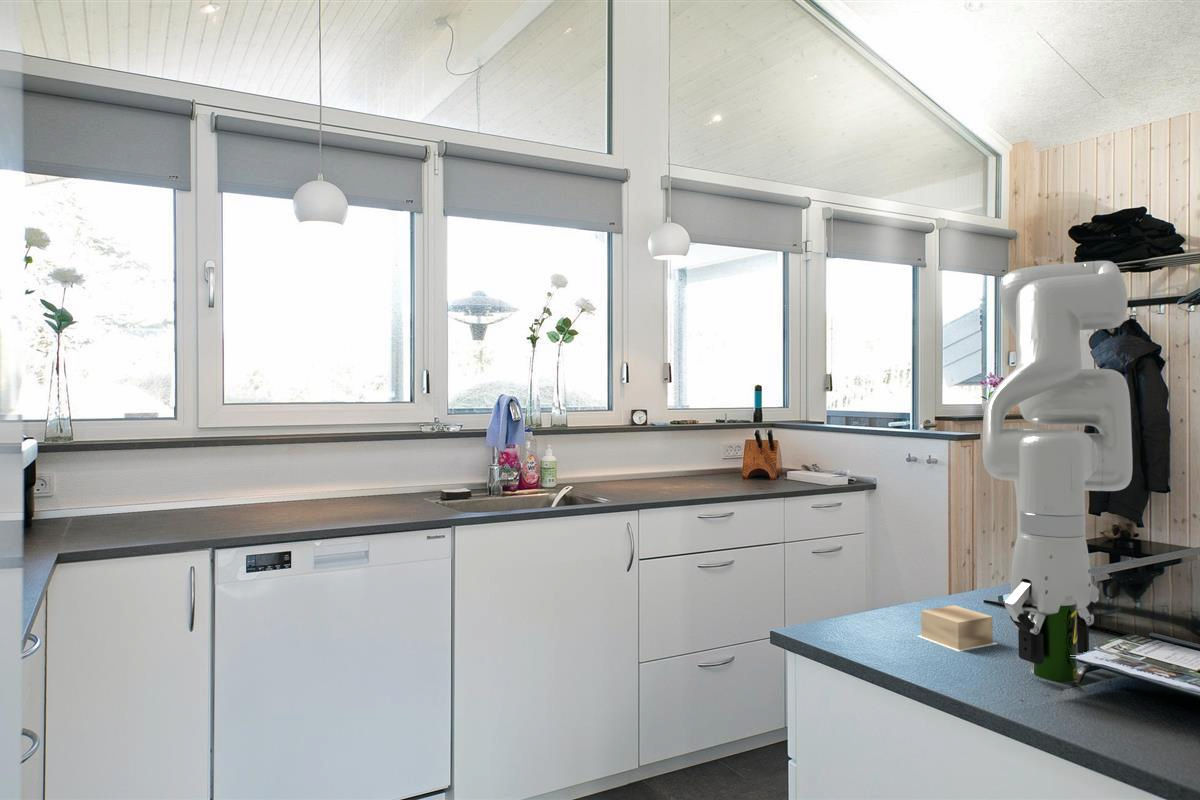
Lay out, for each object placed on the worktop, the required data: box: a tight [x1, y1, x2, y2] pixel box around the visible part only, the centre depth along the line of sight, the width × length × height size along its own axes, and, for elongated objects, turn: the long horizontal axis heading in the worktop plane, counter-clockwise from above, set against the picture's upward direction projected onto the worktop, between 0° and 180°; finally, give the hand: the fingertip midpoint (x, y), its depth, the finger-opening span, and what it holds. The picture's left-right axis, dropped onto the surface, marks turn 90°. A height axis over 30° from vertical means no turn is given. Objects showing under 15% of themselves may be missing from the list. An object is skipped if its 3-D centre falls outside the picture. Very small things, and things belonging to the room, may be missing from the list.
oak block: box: [920, 604, 994, 650], centre depth 117 cm, size 7×7×4 cm
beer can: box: [1030, 596, 1079, 690], centre depth 102 cm, size 5×5×12 cm
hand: (1054, 655), depth 102 cm, fingers open, 8 cm apart
